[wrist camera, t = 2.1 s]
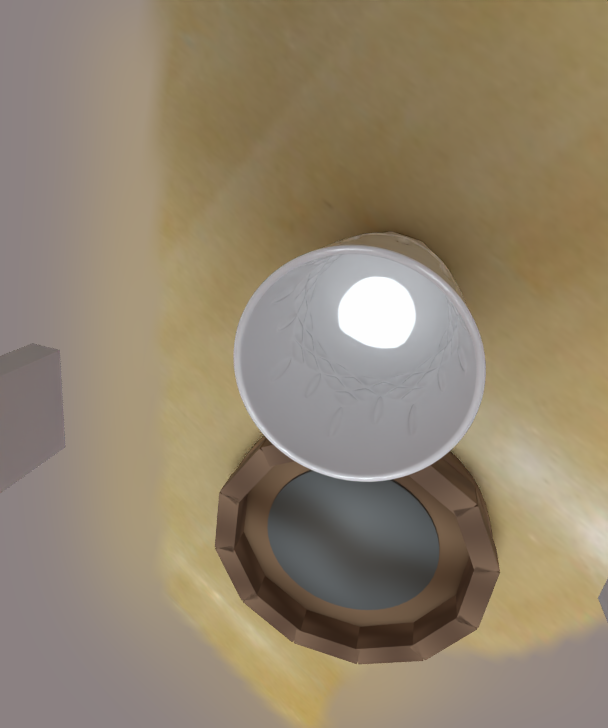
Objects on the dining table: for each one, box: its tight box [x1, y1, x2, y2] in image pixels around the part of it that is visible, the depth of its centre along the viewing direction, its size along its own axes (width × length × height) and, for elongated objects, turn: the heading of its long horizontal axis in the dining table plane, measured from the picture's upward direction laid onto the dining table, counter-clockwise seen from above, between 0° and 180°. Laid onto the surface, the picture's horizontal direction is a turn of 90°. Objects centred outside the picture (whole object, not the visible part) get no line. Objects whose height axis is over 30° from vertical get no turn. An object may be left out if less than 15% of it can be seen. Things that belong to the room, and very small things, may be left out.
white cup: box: [234, 231, 486, 482], centre depth 20 cm, size 8×8×10 cm
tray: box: [215, 436, 500, 664], centre depth 28 cm, size 16×16×3 cm
